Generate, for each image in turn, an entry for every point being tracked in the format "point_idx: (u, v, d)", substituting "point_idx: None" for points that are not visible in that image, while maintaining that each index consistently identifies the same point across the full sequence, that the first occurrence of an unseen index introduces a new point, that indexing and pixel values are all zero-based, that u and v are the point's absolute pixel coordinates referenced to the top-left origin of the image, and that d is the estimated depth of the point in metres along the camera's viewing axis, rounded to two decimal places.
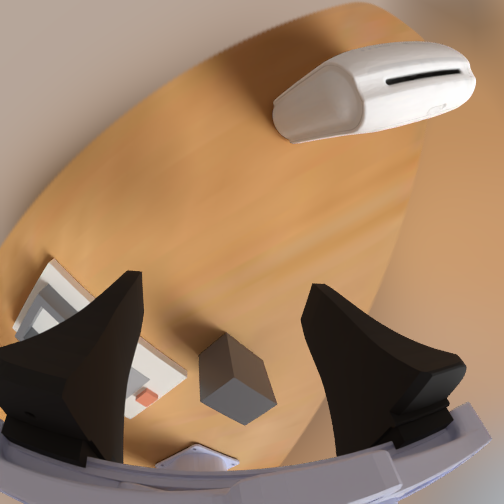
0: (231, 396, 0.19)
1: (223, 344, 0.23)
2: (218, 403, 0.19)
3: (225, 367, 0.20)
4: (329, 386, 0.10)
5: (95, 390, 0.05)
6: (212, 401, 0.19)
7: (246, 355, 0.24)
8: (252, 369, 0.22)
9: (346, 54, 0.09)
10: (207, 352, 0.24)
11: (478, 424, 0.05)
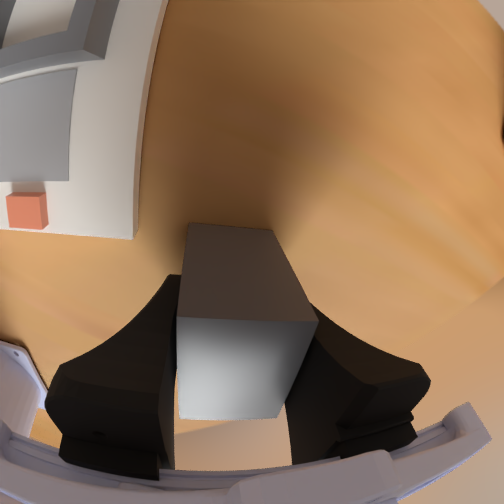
0: (250, 356, 0.07)
1: (266, 242, 0.11)
2: (205, 351, 0.07)
3: (281, 285, 0.08)
4: None
5: (166, 400, 0.06)
6: (202, 337, 0.07)
7: None
8: None
9: None
10: (217, 230, 0.11)
11: (478, 424, 0.05)
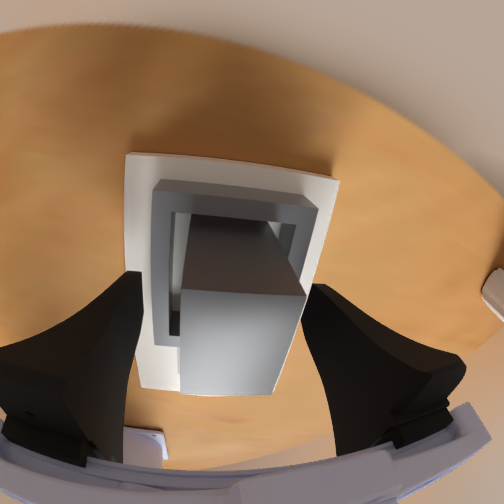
0: (246, 329, 0.08)
1: (262, 231, 0.12)
2: (206, 323, 0.08)
3: (274, 266, 0.10)
4: (329, 386, 0.10)
5: (95, 390, 0.05)
6: (203, 309, 0.08)
7: None
8: None
9: None
10: (217, 221, 0.12)
11: (478, 424, 0.05)
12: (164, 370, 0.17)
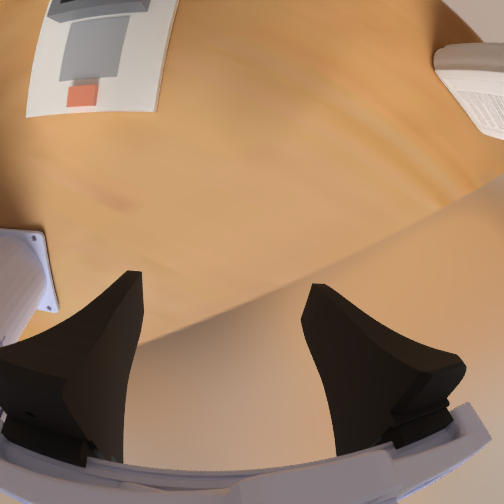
0: None
1: None
2: None
3: None
4: (329, 386, 0.10)
5: (95, 390, 0.05)
6: None
7: None
8: None
9: None
10: None
11: (478, 424, 0.05)
12: (49, 81, 0.12)
